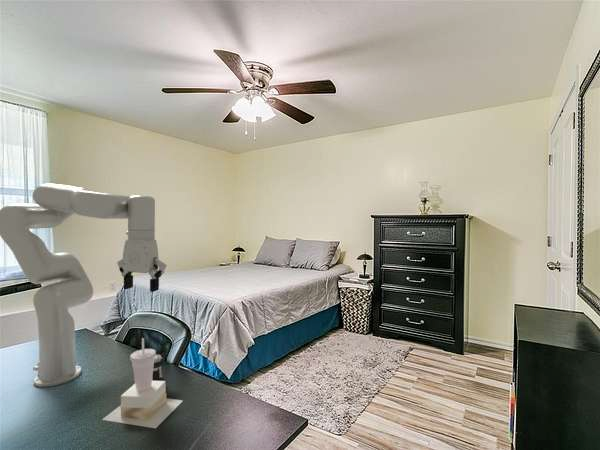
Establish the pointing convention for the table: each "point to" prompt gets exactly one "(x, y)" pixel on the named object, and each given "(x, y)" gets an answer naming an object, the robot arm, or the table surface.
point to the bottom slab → (143, 410)
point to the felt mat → (151, 423)
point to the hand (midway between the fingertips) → (141, 289)
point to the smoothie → (143, 367)
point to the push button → (157, 368)
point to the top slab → (143, 396)
